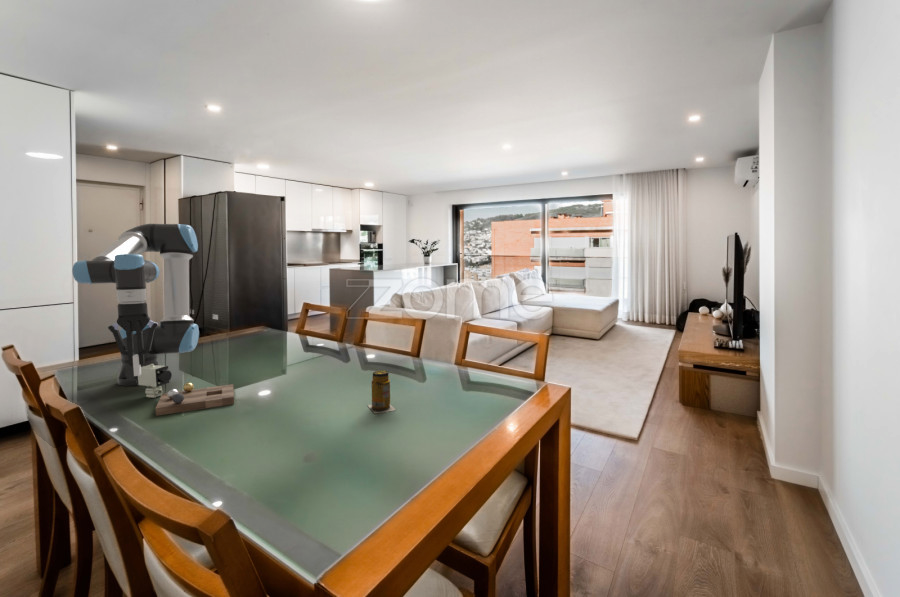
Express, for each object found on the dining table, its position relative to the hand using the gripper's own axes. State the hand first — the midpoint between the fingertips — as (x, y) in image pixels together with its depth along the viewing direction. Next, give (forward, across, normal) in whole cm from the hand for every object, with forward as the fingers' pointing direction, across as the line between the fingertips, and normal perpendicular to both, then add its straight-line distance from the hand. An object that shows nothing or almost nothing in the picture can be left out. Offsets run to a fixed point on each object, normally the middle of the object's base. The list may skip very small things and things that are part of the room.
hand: (137, 374), depth 133 cm
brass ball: (+8, +13, +6) cm, 17 cm away
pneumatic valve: (+12, +2, +16) cm, 20 cm away
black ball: (+8, +11, -6) cm, 15 cm away
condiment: (+13, +70, -35) cm, 80 cm away
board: (+12, +16, +1) cm, 20 cm away
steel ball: (+8, +9, 0) cm, 12 cm away
